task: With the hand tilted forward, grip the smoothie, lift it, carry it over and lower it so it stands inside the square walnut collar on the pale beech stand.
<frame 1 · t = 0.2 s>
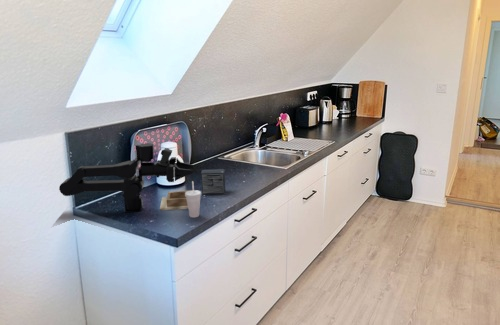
hand: (193, 168, 167), 16 cm above the worktop, tool horizontal, fingers open, 9 cm apart
smoothie: (194, 216, 161), on the worktop
small box: (213, 192, 188), on the worktop
bottle stand: (180, 203, 175), on the worktop
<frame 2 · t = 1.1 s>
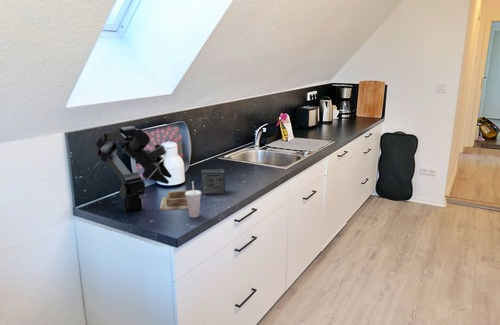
hand: (169, 180, 163), 13 cm above the worktop, tool tilted 45°, fingers open, 9 cm apart
nothing on the worktop moved.
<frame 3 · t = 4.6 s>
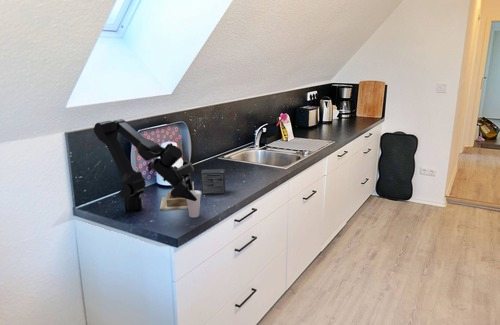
hand: (196, 197, 159), 8 cm above the worktop, tool tilted 45°, fingers closed on smoothie, 6 cm apart
smoothie: (194, 216, 161), on the worktop, touching gripper
everything else where it was.
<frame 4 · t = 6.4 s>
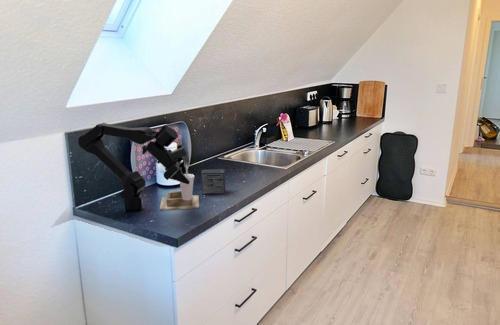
hand: (190, 180, 163), 13 cm above the worktop, tool tilted 45°, fingers closed on smoothie, 6 cm apart
smoothie: (187, 199, 165), point 5 cm above the worktop, touching gripper
everything else where it was.
when the fingers open (9 cm above the worktop, at t = 8.7 s): smoothie stays where it is, resting on bottle stand.
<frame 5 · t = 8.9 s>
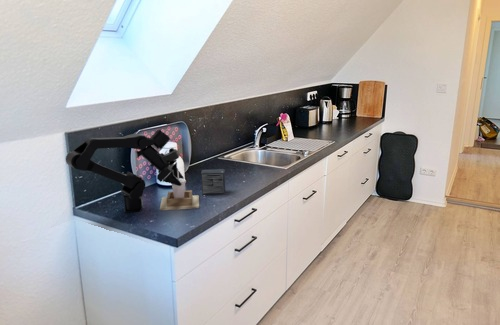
hand: (182, 182, 173), 10 cm above the worktop, tool tilted 45°, fingers open, 8 cm apart
smoothie: (179, 202, 174), point 1 cm above the worktop, touching bottle stand
everything else where it was.
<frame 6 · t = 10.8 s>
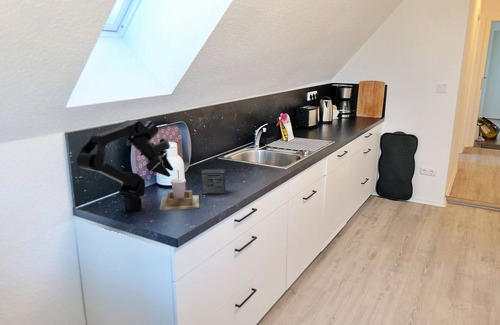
hand: (171, 173, 172), 14 cm above the worktop, tool tilted 40°, fingers open, 9 cm apart
nothing on the worktop moved.
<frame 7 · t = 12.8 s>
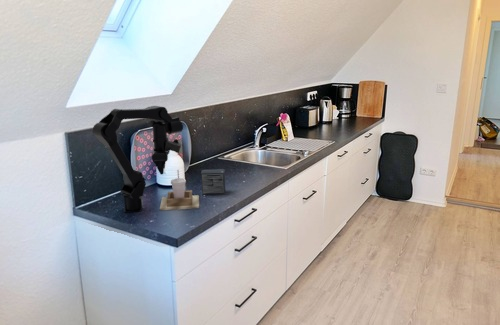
hand: (162, 171, 177), 13 cm above the worktop, tool pointing down, fingers open, 9 cm apart
nothing on the worktop moved.
at the end: smoothie 0.4 cm off-centre on the bottle stand, point 0.6 cm above the bottle stand's base; smoothie tilted 0°; the gripper is holding nothing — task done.
